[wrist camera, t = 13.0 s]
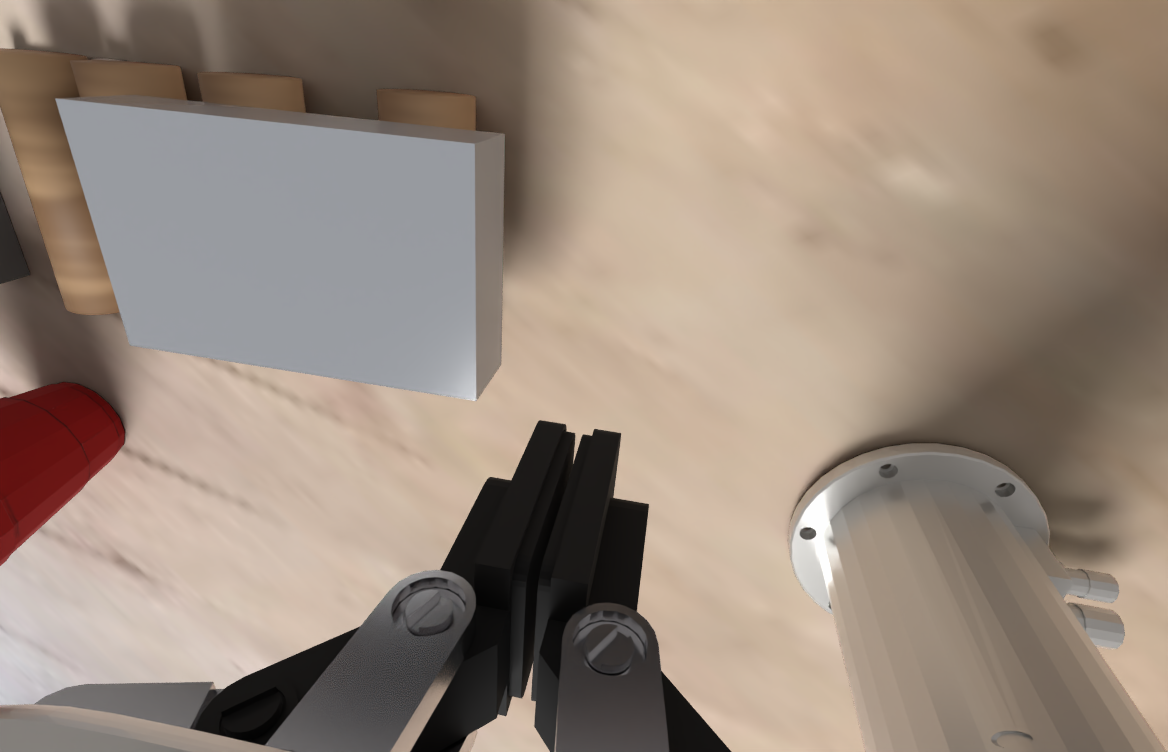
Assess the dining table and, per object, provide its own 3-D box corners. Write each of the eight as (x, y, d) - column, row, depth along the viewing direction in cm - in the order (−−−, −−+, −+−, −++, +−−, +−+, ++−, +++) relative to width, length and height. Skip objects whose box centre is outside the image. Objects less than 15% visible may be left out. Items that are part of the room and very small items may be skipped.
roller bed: (488, 95, 27) (455, 100, 23) (487, 342, 32) (461, 376, 29) (124, 60, 29) (44, 59, 25) (183, 297, 34) (124, 323, 31)
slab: (504, 133, 23) (474, 143, 20) (501, 364, 28) (476, 400, 25) (134, 94, 25) (55, 98, 22) (188, 316, 30) (129, 345, 27)
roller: (37, 57, 25) (-43, 47, 26) (112, 318, 31) (46, 309, 31) (106, 58, 29) (35, 49, 29) (163, 295, 34) (103, 286, 34)
